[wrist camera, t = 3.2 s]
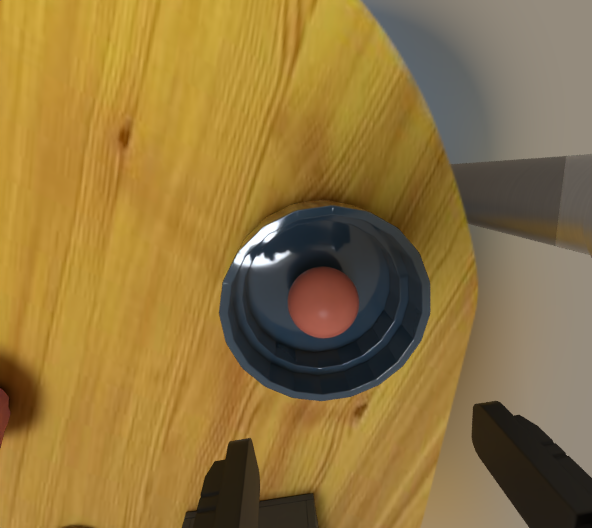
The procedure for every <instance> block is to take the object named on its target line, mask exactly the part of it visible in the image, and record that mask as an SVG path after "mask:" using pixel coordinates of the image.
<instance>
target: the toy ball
mask: <svg viewBox="0 0 592 528" xmlns="http://www.w3.org/2000/svg"><path fill="white" fill-rule="evenodd" d="M358 309H359V297H358V292H357V290H356V287H355V285H354V284H353V282H352V281H351V280H350V278H349V277H348V276H347V275H345V274H344V273H343V272H341V271H339V270H337V269H335V268H331V267H315V268H312V269H309V270H307V271H305V272H303V273H302V274H301V275H299V276H298V277H297V278H296V280H295V281H294V282H293V284H292V286H291V288H290V291H289V294H288V310H289V314H290V316H291V318H292V320H293V322H294V323H295V325H296V326H297V327H298V328H299V329H300V330H301V331H303V332H304V333H306V334H308V335H310V336H313V337H316V338H331V337H335V336H338V335H340V334H342V333H343V332H345V331H346V330H347V329H348V328H349V327H350V326H351V325H352V323H353V322H354V320H355V319H356V316H357V313H358Z"/></svg>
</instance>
